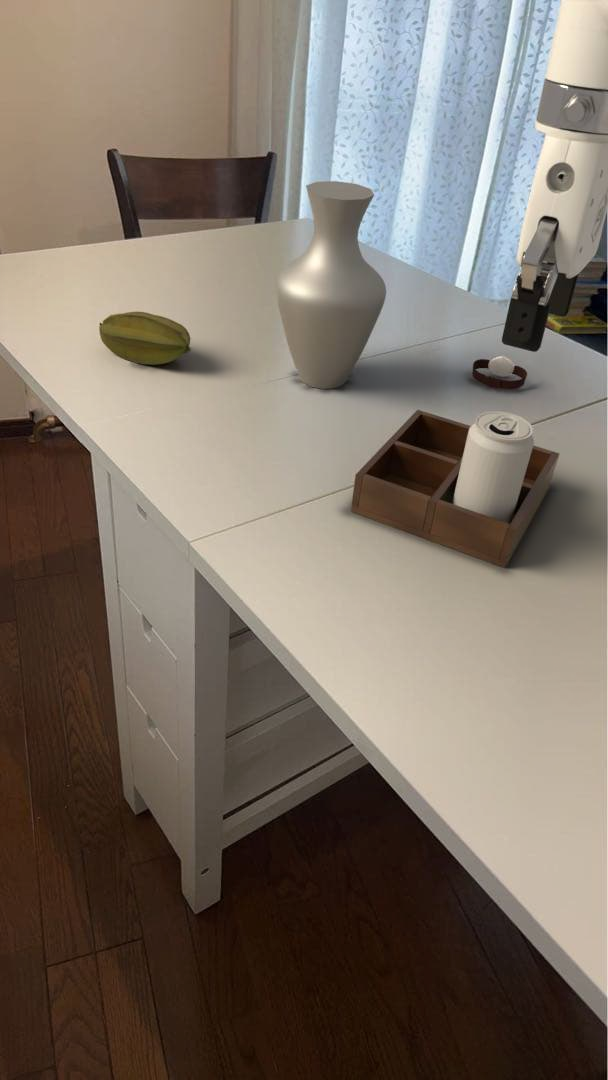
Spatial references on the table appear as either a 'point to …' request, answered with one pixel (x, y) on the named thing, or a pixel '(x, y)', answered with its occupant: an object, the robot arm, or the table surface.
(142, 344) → the fruit
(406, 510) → the tray
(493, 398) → the table surface
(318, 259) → the vase
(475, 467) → the beverage can
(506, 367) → the watch
